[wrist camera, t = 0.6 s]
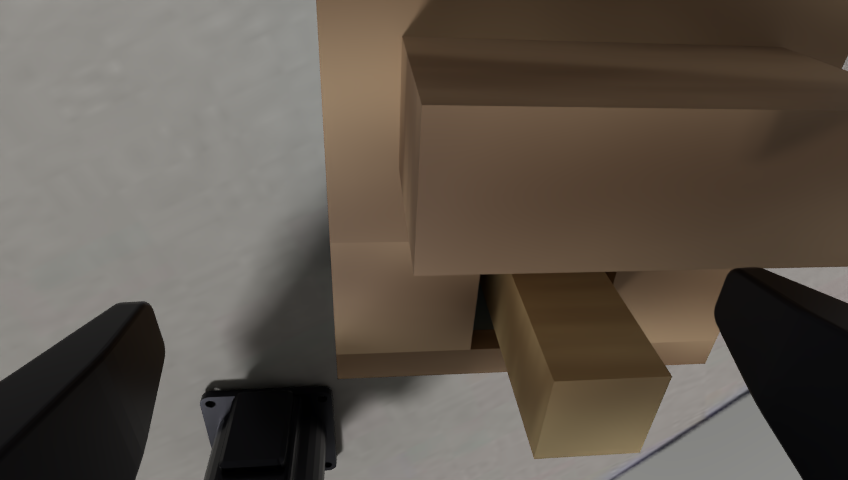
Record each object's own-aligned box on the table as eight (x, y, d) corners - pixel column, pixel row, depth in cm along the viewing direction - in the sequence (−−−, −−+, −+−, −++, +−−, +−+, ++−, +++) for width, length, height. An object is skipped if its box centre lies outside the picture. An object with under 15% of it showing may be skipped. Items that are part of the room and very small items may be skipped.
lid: (691, 345, 22) (792, 482, 16) (338, 358, 20) (331, 514, 15) (1010, -391, 11) (1583, -640, 6) (293, -486, 9) (213, -939, 4)
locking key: (538, 250, 23) (639, 452, 15) (470, 251, 23) (534, 458, 14) (550, 188, 22) (671, 376, 13) (477, 188, 21) (553, 381, 13)
